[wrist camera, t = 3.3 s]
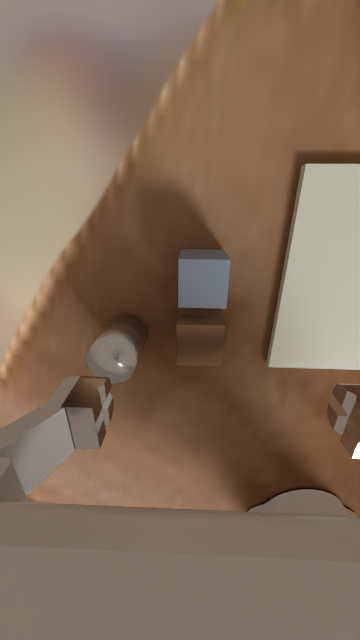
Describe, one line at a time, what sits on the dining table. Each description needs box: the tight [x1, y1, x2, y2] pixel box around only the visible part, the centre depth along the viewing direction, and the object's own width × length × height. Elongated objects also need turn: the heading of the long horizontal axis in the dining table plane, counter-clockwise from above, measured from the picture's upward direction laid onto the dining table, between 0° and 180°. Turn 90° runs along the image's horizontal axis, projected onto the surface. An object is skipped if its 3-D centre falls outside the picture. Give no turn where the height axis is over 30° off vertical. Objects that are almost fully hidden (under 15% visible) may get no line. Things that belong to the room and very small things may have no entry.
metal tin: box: [86, 313, 147, 383], centre depth 28 cm, size 5×5×7 cm
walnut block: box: [176, 308, 226, 367], centre depth 29 cm, size 5×5×5 cm
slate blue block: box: [178, 249, 231, 309], centre depth 25 cm, size 4×4×6 cm
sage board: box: [266, 164, 360, 370], centre depth 27 cm, size 22×14×1 cm, turn 0°
